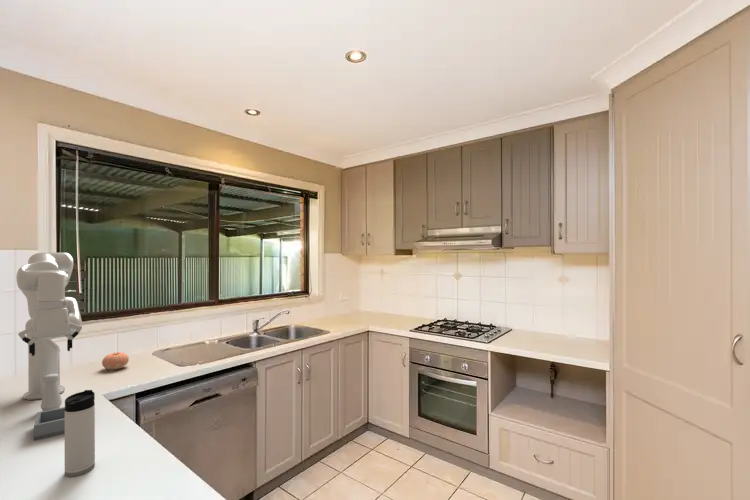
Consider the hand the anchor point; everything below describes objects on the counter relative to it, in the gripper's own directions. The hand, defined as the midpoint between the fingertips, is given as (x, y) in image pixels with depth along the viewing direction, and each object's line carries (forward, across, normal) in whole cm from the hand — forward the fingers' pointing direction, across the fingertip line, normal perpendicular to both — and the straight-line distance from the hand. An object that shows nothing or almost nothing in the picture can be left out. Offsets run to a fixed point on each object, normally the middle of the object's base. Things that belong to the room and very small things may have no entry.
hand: (51, 352), depth 134 cm
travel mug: (+22, -8, +52) cm, 57 cm away
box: (+21, -3, +18) cm, 28 cm away
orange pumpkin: (+21, -22, -44) cm, 53 cm away
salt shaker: (+21, 0, 0) cm, 21 cm away
